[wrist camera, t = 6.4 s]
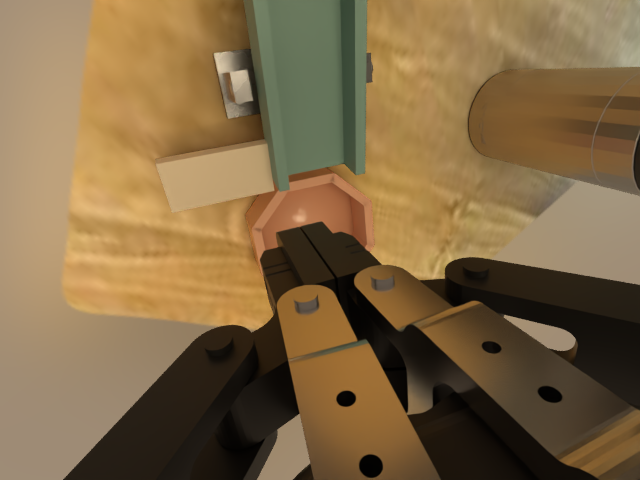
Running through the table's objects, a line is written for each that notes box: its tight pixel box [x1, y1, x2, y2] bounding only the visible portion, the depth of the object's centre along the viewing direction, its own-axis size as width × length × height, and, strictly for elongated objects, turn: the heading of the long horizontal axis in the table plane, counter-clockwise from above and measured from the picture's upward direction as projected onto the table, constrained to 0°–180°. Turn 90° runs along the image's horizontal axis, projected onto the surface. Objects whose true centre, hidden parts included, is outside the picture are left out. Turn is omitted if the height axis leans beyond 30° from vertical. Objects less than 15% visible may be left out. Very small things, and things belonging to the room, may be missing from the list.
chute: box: [156, 0, 367, 213], centre depth 26 cm, size 15×15×6 cm
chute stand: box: [213, 49, 373, 118], centre depth 30 cm, size 11×5×7 cm, turn 98°
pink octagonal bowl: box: [245, 167, 375, 277], centre depth 37 cm, size 12×12×4 cm
